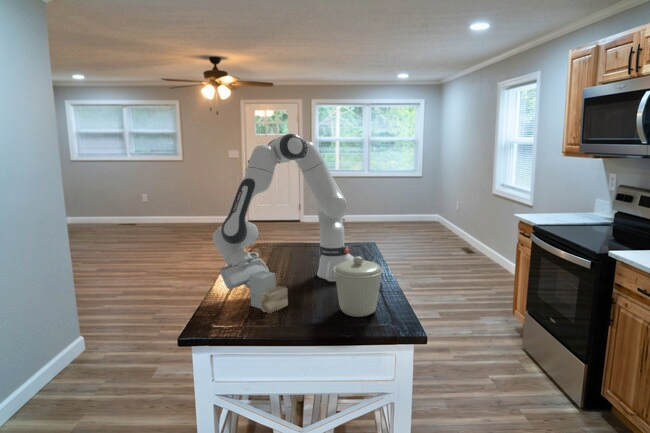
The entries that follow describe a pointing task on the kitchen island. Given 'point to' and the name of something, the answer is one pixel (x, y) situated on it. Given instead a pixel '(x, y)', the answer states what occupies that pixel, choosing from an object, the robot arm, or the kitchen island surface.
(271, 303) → the block
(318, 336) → the kitchen island surface
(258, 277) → the supplement box
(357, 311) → the canister
